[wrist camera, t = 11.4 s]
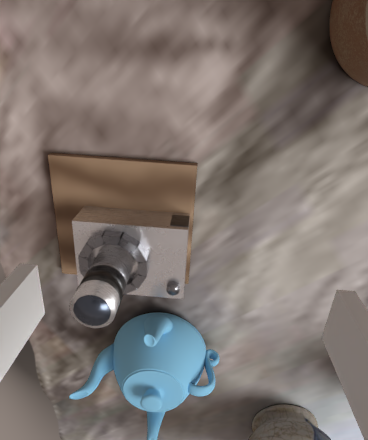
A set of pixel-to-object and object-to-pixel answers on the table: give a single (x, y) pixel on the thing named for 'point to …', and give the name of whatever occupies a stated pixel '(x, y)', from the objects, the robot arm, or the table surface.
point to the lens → (102, 287)
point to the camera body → (136, 246)
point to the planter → (351, 37)
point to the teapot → (155, 365)
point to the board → (117, 192)
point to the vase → (286, 424)
